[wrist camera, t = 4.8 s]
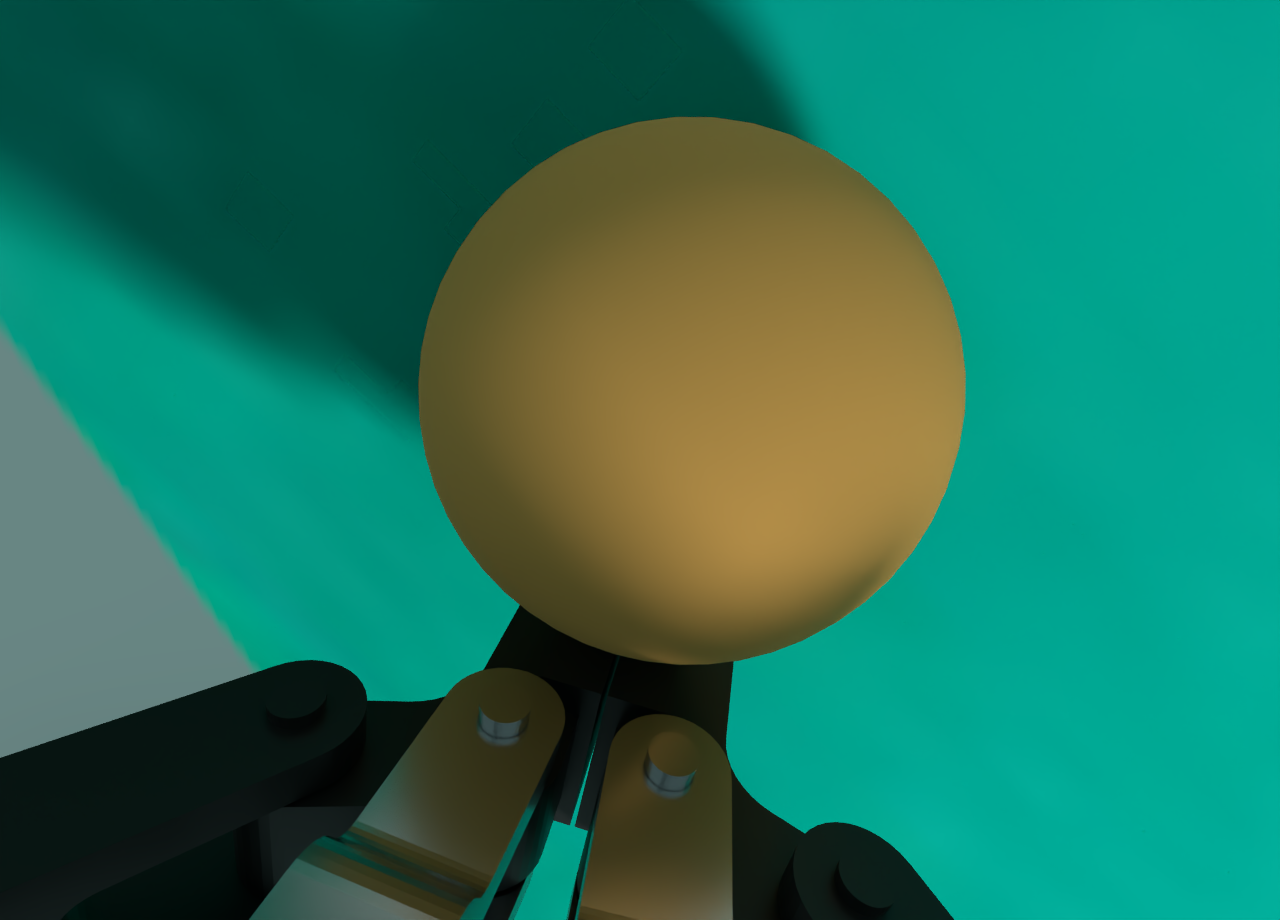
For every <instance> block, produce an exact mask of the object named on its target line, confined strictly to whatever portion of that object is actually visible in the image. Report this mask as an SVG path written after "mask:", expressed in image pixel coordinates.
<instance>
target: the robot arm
mask: <svg viewBox="0 0 1280 920" xmlns="http://www.w3.org/2000/svg"><path fill="white" fill-rule="evenodd" d="M733 662H734V661H731V662H723V663H715V664H691V665H675V664H666V663H657V662H648V661H642V660H638V659H633V658H629V657H625V656H620V655H616V654H612V653H610V652H607V651H604V650H601V649H598V648H596V647H593V646H590V645H587V644H584V643H582V642H580V641H578V640H576V639H574V638H572V637H570V636H568V635H566V634H564V633H562V632H560V631H558V630H556V629H554V628H553V627H551V626H550V625H548V624H547V623H545V622H543V621H542V620H540V619H539V618H537V617H536V616H534V615H533V614H531V613H530V612H528V611H527V610H526V609H525V608H523V607H522V606H521V605H520V606H519V608H518V610H517V611H516V613H515V615H514V617H513V619H512V620H511V622H510V624H509V626H508V627H507V629H506V631H505V633H504V635H503V636H502V638H501V640H500V642H499V643H498V645H497V647H496V649H495V651H494V652H493V654H492V656H491V658H490V659H489V661H488V663H487V665H486V667H485V668H484V670H482V671H479V672H476V673H474V674H471V675H469V676H467V677H466V678H464V679H462V680H461V681H460V682H458V683H457V684H456V685H455V686H454V687H453V688H452V689H451V690H450V691H449V692H448V694H447V695H446V696H445V697H442V698H438V699H434V700H427V701H415V702H402V701H367V695H366V690H365V688H364V686H363V684H362V682H361V681H360V680H359V678H358V677H357V676H356V675H355V674H353V673H352V672H351V671H349V670H348V669H346V668H344V667H342V666H340V665H337V664H334V663H330V662H325V661H316V660H304V661H294V662H288V663H284V664H281V665H277V666H274V667H271V668H268V669H265V670H262V671H259V672H256V673H253V674H250V675H247V676H244V677H241V678H238V679H235V680H232V681H229V682H226V683H223V684H220V685H217V686H214V687H211V688H208V689H205V690H202V691H199V692H196V693H193V694H190V695H187V696H185V697H181V698H178V699H175V700H172V701H169V702H166V703H163V704H160V705H157V706H154V707H151V708H148V709H145V710H142V711H139V712H136V713H133V714H130V715H127V716H124V717H122V718H119V719H115V720H112V721H110V722H106V723H103V724H100V725H98V726H94V727H92V728H88V729H85V730H83V731H79V732H77V733H74V734H70V735H68V736H65V737H61V738H59V739H56V740H52V741H49V742H46V743H44V744H40V745H38V746H35V747H32V748H29V749H26V750H23V751H20V752H17V753H14V754H11V755H8V756H5V757H2V758H0V920H514V918H515V916H516V914H517V911H518V909H519V907H520V904H521V902H522V900H523V897H524V895H525V893H526V890H527V888H528V885H529V883H530V880H531V877H532V874H533V870H534V868H535V867H536V865H537V864H538V862H539V859H540V857H541V855H542V852H543V849H544V846H545V843H546V840H547V837H548V834H549V832H550V829H551V826H552V823H553V820H554V821H557V822H561V823H564V824H567V825H570V823H571V820H572V816H573V813H574V810H575V807H576V804H577V800H578V797H579V794H580V791H581V787H582V784H583V781H584V778H585V775H586V771H587V768H588V765H589V762H590V759H591V755H592V752H593V755H592V759H591V763H590V767H589V771H588V776H587V780H586V784H585V788H584V792H583V796H582V800H581V804H580V808H579V812H578V816H577V820H576V824H575V827H578V828H581V829H584V830H587V831H588V833H587V837H586V841H585V845H584V849H583V852H582V856H581V860H580V864H579V868H578V872H577V876H576V879H575V883H574V887H573V891H572V895H571V899H570V904H569V909H568V914H567V919H566V920H954V919H953V918H952V916H951V915H950V914H949V912H948V911H947V910H946V909H945V907H944V906H943V905H942V904H941V902H940V901H939V900H938V899H937V897H936V896H935V895H934V894H933V892H932V891H931V890H930V889H929V887H928V886H927V885H926V884H925V882H924V881H923V880H922V879H921V877H920V876H919V875H918V874H917V872H916V871H915V870H914V869H913V867H912V866H911V865H910V864H909V863H908V861H907V860H906V859H905V858H904V857H903V856H902V855H901V854H900V853H899V852H898V851H897V850H896V849H895V848H894V847H893V846H892V845H890V844H889V843H888V842H886V841H885V840H884V839H882V838H881V837H879V836H877V835H876V834H874V833H872V832H870V831H868V830H866V829H864V828H861V827H859V826H855V825H851V824H848V823H839V822H832V823H824V824H821V825H817V826H815V827H814V828H812V829H810V830H809V831H808V832H807V833H805V834H804V833H803V832H801V831H800V830H798V829H797V828H795V827H793V826H792V825H790V824H789V823H787V822H786V821H784V820H782V819H781V818H779V817H778V816H776V815H775V814H773V813H771V812H770V811H769V810H767V809H766V808H764V807H763V806H762V805H760V804H759V803H758V802H757V801H756V800H755V799H754V798H753V797H751V796H750V794H749V793H748V792H747V791H746V790H745V789H744V788H743V786H742V785H741V783H740V782H739V781H738V779H737V778H736V776H735V774H734V772H733V770H732V768H731V766H730V763H729V760H728V757H727V751H726V734H727V723H728V713H729V703H730V693H731V682H732V672H733ZM594 746H595V747H594ZM593 749H594V751H593Z"/></svg>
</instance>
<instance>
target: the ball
mask: <svg viewBox="0 0 1280 920" xmlns="http://www.w3.org/2000/svg"><path fill="white" fill-rule="evenodd" d="M418 388H419V412H420V425H421V431H422V437H423V443H424V449H425V455H426V459H427V462H428V465H429V469H430V472H431V476H432V479H433V482H434V486H435V488H436V491H437V493H438V495H439V498H440V500H441V502H442V505H443V507H444V509H445V511H446V514H447V516H448V518H449V520H450V521H451V523H452V525H453V526H454V528H455V530H456V532H457V533H458V535H459V537H460V538H461V540H462V542H463V544H464V545H465V546H466V548H467V549H468V550H469V552H470V553H471V554H472V556H473V557H474V558H475V560H476V561H477V562H478V563H479V565H480V566H481V567H482V569H483V570H484V571H485V572H486V573H487V574H488V575H489V576H490V577H491V578H492V579H493V580H494V581H495V582H496V584H497V585H498V586H499V587H500V588H501V589H502V590H503V591H504V592H505V593H506V594H508V595H509V596H510V597H511V598H512V599H514V600H515V601H516V602H517V603H519V604H520V605H521V606H522V607H523V608H525V609H526V610H527V611H528V612H530V613H531V614H533V615H534V616H536V617H537V618H539V619H540V620H542V621H543V622H545V623H547V624H548V625H550V626H551V627H553V628H554V629H556V630H558V631H560V632H562V633H564V634H566V635H568V636H570V637H572V638H574V639H576V640H578V641H580V642H582V643H584V644H587V645H590V646H593V647H596V648H598V649H601V650H604V651H607V652H610V653H612V654H616V655H620V656H625V657H629V658H633V659H638V660H642V661H648V662H657V663H666V664H675V665H691V664H715V663H723V662H731V661H739V660H743V659H747V658H751V657H755V656H759V655H763V654H767V653H771V652H774V651H777V650H779V649H782V648H784V647H787V646H789V645H792V644H795V643H797V642H800V641H802V640H804V639H806V638H808V637H810V636H812V635H814V634H815V633H817V632H819V631H821V630H823V629H825V628H827V627H828V626H830V625H832V624H834V623H836V622H837V621H839V620H840V619H842V618H843V617H844V616H846V615H847V614H849V613H850V612H851V611H853V610H854V609H856V608H857V607H858V606H860V605H861V604H863V603H864V602H865V601H866V600H868V599H869V598H870V597H871V596H872V595H873V594H874V593H875V592H876V591H877V590H878V589H879V588H880V587H882V586H883V585H884V584H885V583H886V582H887V581H888V580H889V579H890V578H891V577H892V576H893V575H894V573H895V572H896V571H897V570H898V569H899V567H900V566H901V565H902V564H903V563H904V561H905V560H906V559H907V558H908V557H909V555H910V554H911V553H912V552H913V550H914V549H915V547H916V545H917V544H918V542H919V541H920V539H921V538H922V536H923V534H924V533H925V531H926V530H927V528H928V526H929V525H930V523H931V522H932V520H933V517H934V515H935V513H936V511H937V509H938V506H939V504H940V502H941V500H942V498H943V495H944V493H945V491H946V489H947V486H948V482H949V479H950V476H951V472H952V469H953V466H954V462H955V459H956V456H957V452H958V449H959V445H960V438H961V432H962V425H963V419H964V412H965V366H964V358H963V350H962V342H961V335H960V331H959V328H958V324H957V320H956V317H955V313H954V309H953V306H952V302H951V299H950V296H949V294H948V292H947V289H946V287H945V285H944V282H943V280H942V278H941V275H940V273H939V271H938V269H937V266H936V264H935V262H934V260H933V259H932V257H931V256H930V254H929V252H928V251H927V249H926V248H925V246H924V244H923V243H922V241H921V239H920V238H919V236H918V235H917V233H916V231H915V230H914V229H913V227H912V226H911V225H910V224H909V223H908V221H907V220H906V219H905V218H904V217H903V215H902V214H901V213H900V212H899V211H898V209H897V208H896V207H895V206H894V205H893V204H892V202H891V201H890V200H889V199H888V198H887V197H886V196H885V195H883V194H882V193H881V192H880V191H879V190H878V189H877V188H876V187H875V186H873V185H872V184H871V183H870V182H869V181H868V180H867V179H866V178H864V177H863V176H862V175H861V174H860V173H858V172H857V171H855V170H854V169H852V168H851V167H849V166H848V165H846V164H845V163H843V162H842V161H840V160H839V159H837V158H836V157H834V156H833V155H831V154H830V153H828V152H827V151H825V150H822V149H820V148H818V147H816V146H814V145H812V144H810V143H808V142H805V141H803V140H801V139H799V138H797V137H795V136H793V135H790V134H787V133H784V132H780V131H777V130H774V129H771V128H767V127H764V126H761V125H757V124H754V123H749V122H742V121H735V120H729V119H722V118H716V117H671V118H664V119H656V120H649V121H641V122H635V123H632V124H628V125H625V126H621V127H618V128H614V129H611V130H607V131H604V132H600V133H598V134H596V135H593V136H591V137H589V138H586V139H584V140H582V141H580V142H577V143H575V144H573V145H571V146H568V147H566V148H564V149H563V150H561V151H559V152H558V153H556V154H555V155H553V156H551V157H550V158H548V159H547V160H545V161H543V162H542V163H540V164H538V165H537V166H535V167H534V168H532V169H531V170H530V171H529V172H528V173H526V174H525V175H524V176H523V177H522V178H520V179H519V180H518V181H517V182H516V183H514V184H513V185H512V186H511V187H510V188H508V189H507V190H506V191H505V192H504V193H503V194H502V195H501V196H500V197H499V198H498V200H497V201H496V202H495V203H494V204H493V205H492V206H491V207H490V208H489V209H488V210H487V212H486V213H485V214H484V215H483V216H482V217H481V218H480V219H479V221H478V222H477V223H476V225H475V226H474V228H473V229H472V231H471V232H470V233H469V235H468V236H467V238H466V239H465V241H464V242H463V244H462V245H461V246H460V248H459V249H458V251H457V252H456V254H455V256H454V258H453V260H452V262H451V264H450V266H449V268H448V270H447V272H446V274H445V275H444V277H443V279H442V281H441V283H440V286H439V289H438V291H437V294H436V297H435V300H434V303H433V305H432V308H431V311H430V314H429V317H428V321H427V326H426V330H425V335H424V340H423V344H422V349H421V359H420V370H419V382H418Z"/></svg>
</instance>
